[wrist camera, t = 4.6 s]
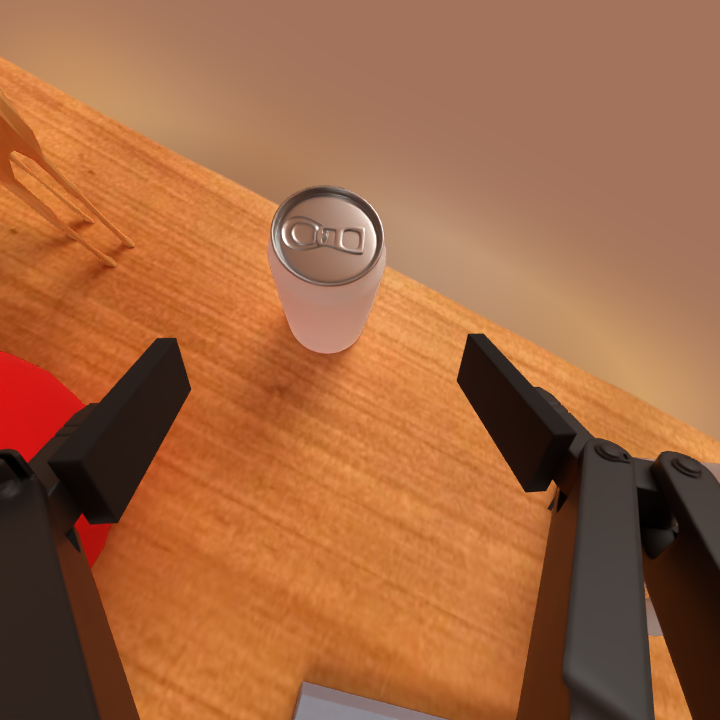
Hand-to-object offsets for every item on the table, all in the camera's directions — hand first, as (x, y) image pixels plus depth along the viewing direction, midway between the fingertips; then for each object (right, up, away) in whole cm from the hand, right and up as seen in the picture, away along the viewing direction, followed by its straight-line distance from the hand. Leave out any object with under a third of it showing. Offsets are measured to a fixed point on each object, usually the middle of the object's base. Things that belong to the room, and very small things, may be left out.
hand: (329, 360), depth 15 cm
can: (-1, +4, +13) cm, 13 cm away
